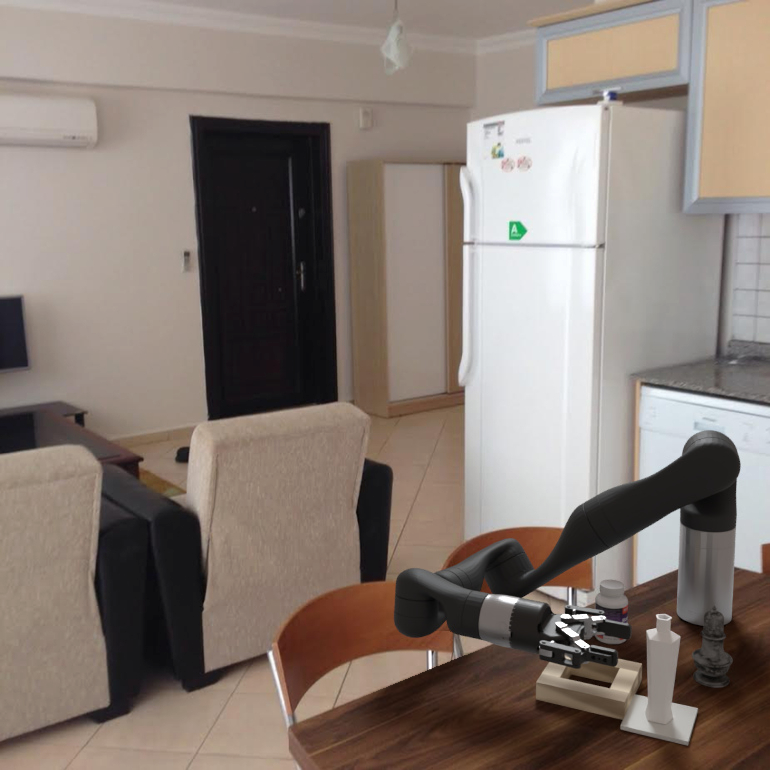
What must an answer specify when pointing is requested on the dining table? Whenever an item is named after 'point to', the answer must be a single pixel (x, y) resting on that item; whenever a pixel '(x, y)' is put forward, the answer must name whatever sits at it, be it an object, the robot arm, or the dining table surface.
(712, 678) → the black chess piece
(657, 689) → the white vase
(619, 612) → the pill bottle
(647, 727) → the coaster
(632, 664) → the frame
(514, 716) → the dining table surface
